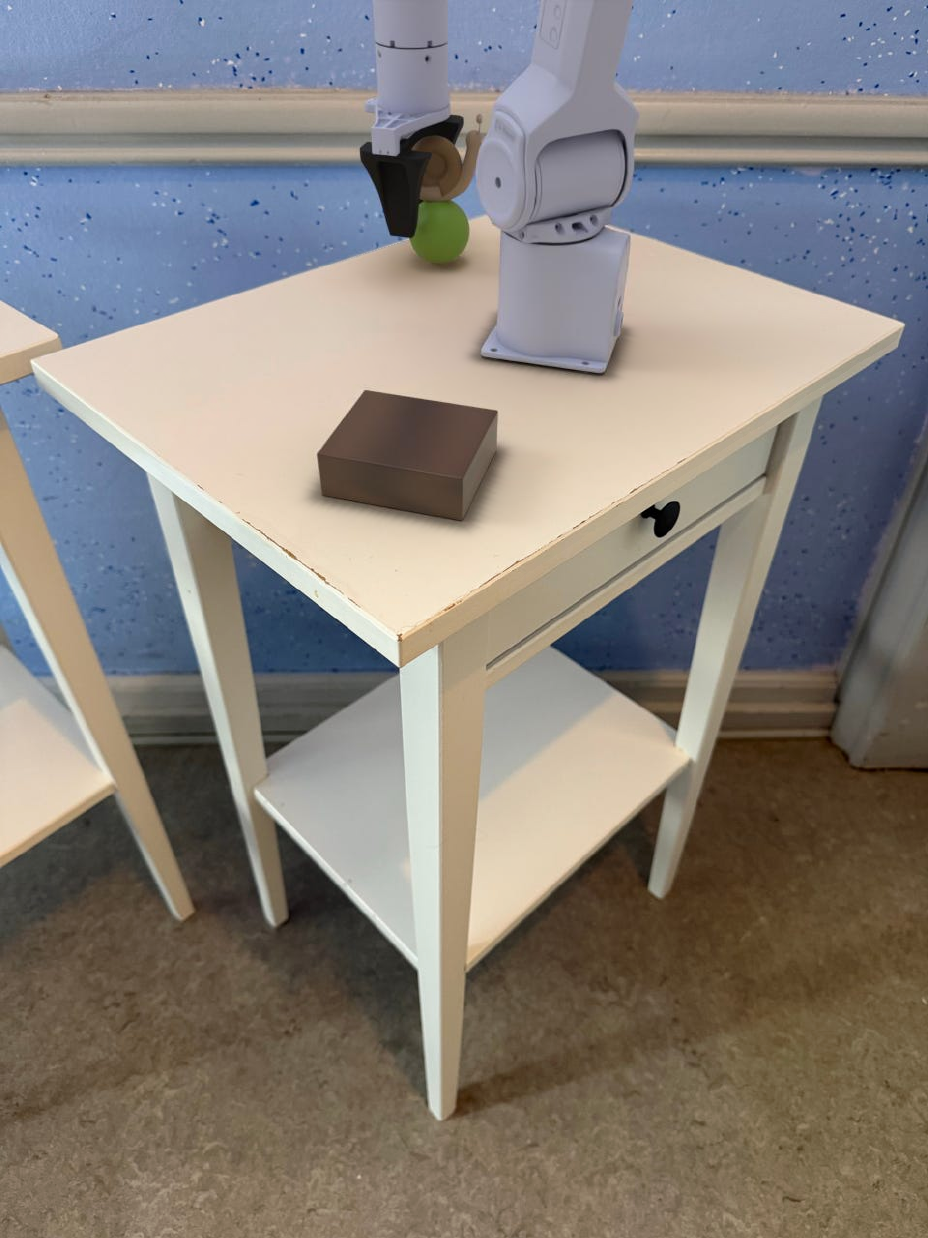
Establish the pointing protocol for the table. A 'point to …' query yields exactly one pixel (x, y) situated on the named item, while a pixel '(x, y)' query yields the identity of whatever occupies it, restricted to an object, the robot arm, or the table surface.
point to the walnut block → (409, 454)
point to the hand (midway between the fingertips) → (416, 220)
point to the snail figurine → (444, 197)
